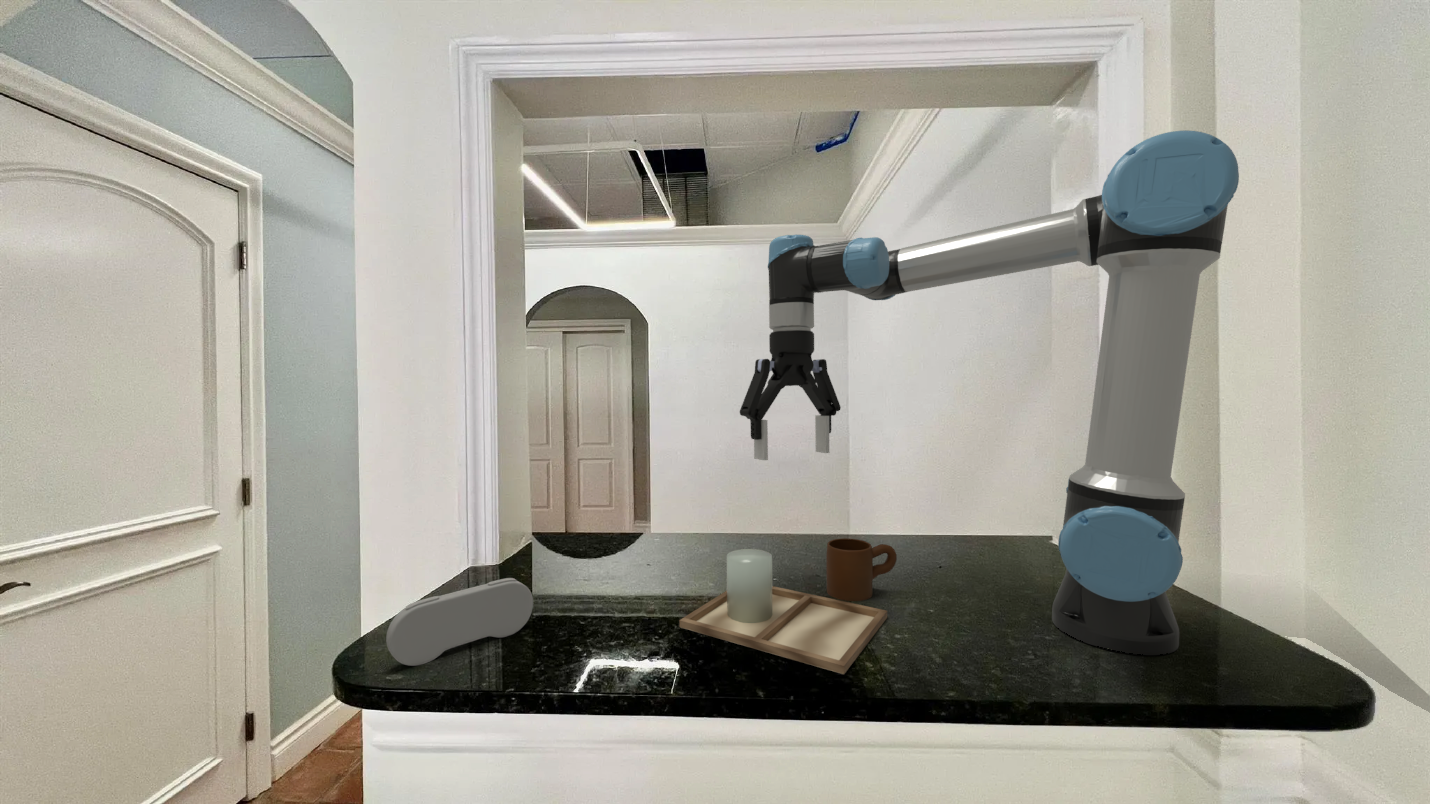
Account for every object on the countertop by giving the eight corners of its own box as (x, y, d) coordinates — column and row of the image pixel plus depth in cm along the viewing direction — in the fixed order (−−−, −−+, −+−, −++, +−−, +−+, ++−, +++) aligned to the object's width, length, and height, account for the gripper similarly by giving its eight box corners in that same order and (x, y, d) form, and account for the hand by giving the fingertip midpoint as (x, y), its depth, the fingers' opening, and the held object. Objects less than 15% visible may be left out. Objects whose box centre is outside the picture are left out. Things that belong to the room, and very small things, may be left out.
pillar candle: (780, 610, 88) (779, 553, 87) (759, 627, 82) (758, 566, 82) (741, 600, 92) (741, 546, 91) (718, 616, 86) (718, 558, 85)
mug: (887, 588, 99) (887, 536, 99) (905, 606, 92) (905, 549, 91) (821, 591, 98) (821, 538, 98) (834, 609, 91) (834, 552, 90)
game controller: (527, 623, 87) (526, 570, 87) (534, 628, 85) (533, 574, 85) (386, 669, 74) (384, 607, 73) (390, 675, 72) (388, 612, 72)
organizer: (887, 625, 85) (887, 610, 85) (844, 683, 69) (844, 666, 69) (743, 592, 98) (743, 579, 98) (679, 634, 82) (679, 620, 82)
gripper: (830, 334, 105) (830, 447, 105) (717, 330, 91) (719, 459, 92) (860, 331, 98) (861, 451, 99) (744, 326, 85) (746, 465, 86)
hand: (792, 455), depth 96 cm, fingers open, 13 cm apart
